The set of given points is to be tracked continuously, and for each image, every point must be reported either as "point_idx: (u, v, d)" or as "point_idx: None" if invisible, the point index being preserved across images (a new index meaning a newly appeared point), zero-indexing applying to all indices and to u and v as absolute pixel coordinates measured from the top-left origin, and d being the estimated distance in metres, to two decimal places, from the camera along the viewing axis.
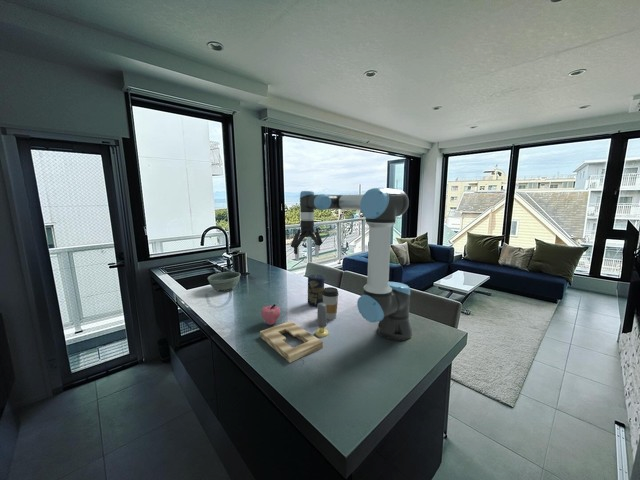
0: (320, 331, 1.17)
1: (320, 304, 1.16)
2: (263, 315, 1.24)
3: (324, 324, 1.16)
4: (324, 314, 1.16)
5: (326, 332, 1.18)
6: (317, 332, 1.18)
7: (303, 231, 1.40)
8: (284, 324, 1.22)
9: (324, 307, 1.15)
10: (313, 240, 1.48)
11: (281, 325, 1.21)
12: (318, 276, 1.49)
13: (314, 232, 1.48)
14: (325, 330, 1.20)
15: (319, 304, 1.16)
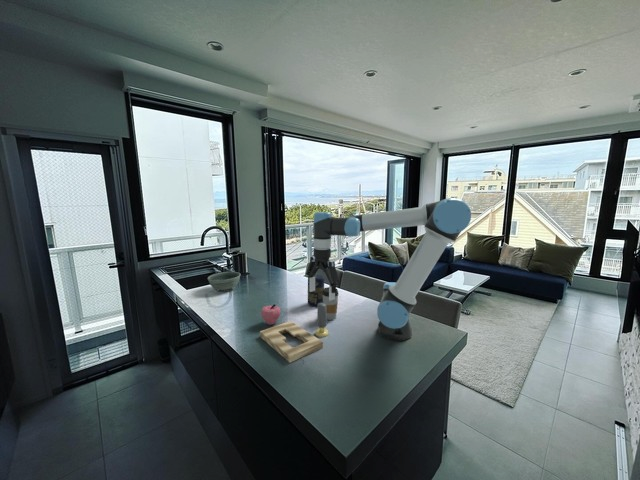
0: (320, 331, 1.17)
1: (320, 304, 1.16)
2: (263, 315, 1.24)
3: (324, 324, 1.16)
4: (324, 314, 1.16)
5: (326, 332, 1.18)
6: (317, 332, 1.18)
7: (315, 260, 1.15)
8: (284, 324, 1.22)
9: (324, 307, 1.15)
10: None
11: (281, 325, 1.21)
12: (318, 276, 1.49)
13: None
14: (325, 330, 1.20)
15: (319, 304, 1.16)
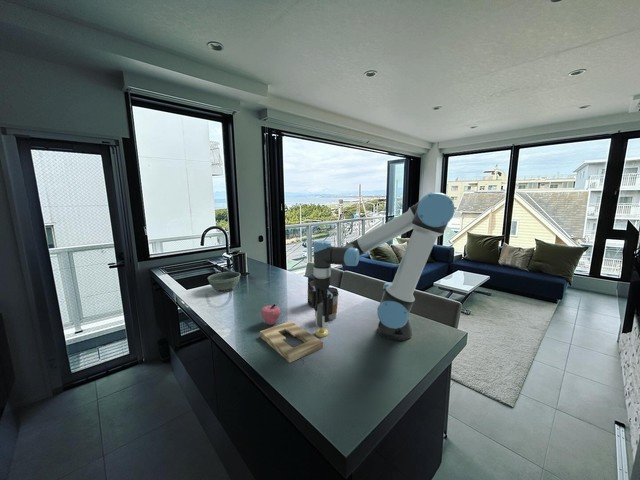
0: (320, 331, 1.17)
1: (320, 304, 1.16)
2: (263, 315, 1.24)
3: None
4: None
5: (326, 332, 1.18)
6: (317, 332, 1.18)
7: (315, 288, 1.17)
8: (284, 324, 1.22)
9: None
10: (326, 305, 1.16)
11: (281, 325, 1.21)
12: None
13: None
14: (325, 330, 1.20)
15: (319, 304, 1.16)
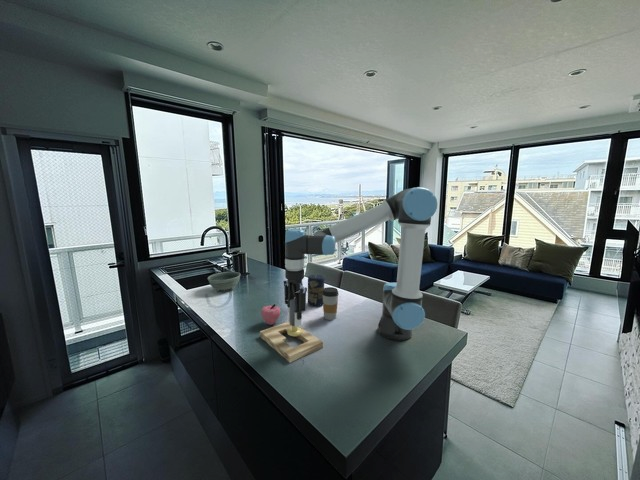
0: (293, 330, 1.06)
1: (293, 300, 1.05)
2: (263, 315, 1.24)
3: None
4: None
5: (299, 331, 1.07)
6: (289, 331, 1.07)
7: (288, 281, 1.06)
8: (284, 324, 1.22)
9: None
10: None
11: (281, 325, 1.21)
12: (318, 276, 1.49)
13: None
14: (299, 329, 1.08)
15: (292, 300, 1.05)
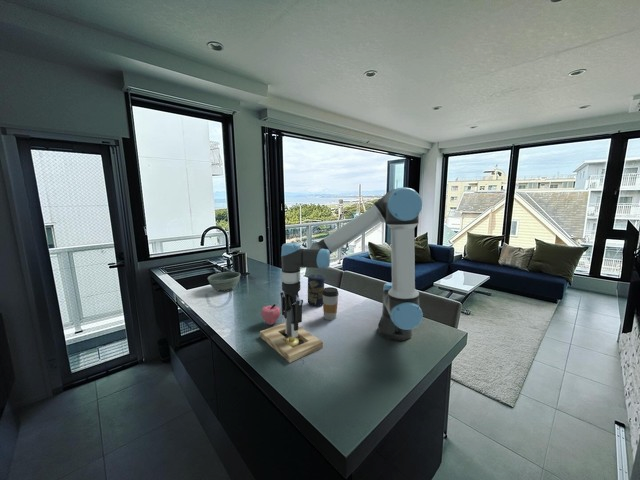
0: (290, 340, 1.09)
1: (289, 311, 1.08)
2: (263, 315, 1.24)
3: None
4: None
5: (296, 341, 1.10)
6: (286, 341, 1.09)
7: (284, 293, 1.09)
8: (284, 324, 1.22)
9: None
10: None
11: (281, 325, 1.21)
12: (318, 276, 1.49)
13: None
14: (296, 339, 1.11)
15: (288, 311, 1.08)
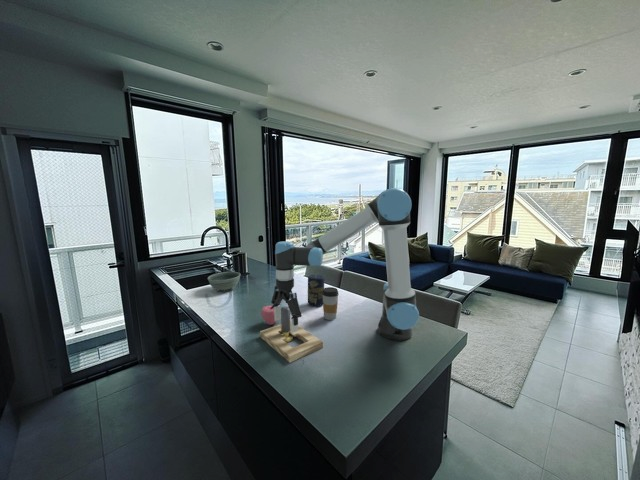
0: (284, 336, 1.13)
1: (283, 308, 1.12)
2: (263, 315, 1.24)
3: (288, 329, 1.12)
4: (287, 318, 1.11)
5: (290, 337, 1.13)
6: None
7: (279, 290, 1.13)
8: None
9: (287, 311, 1.11)
10: None
11: None
12: (318, 276, 1.49)
13: None
14: (290, 335, 1.15)
15: (282, 308, 1.12)
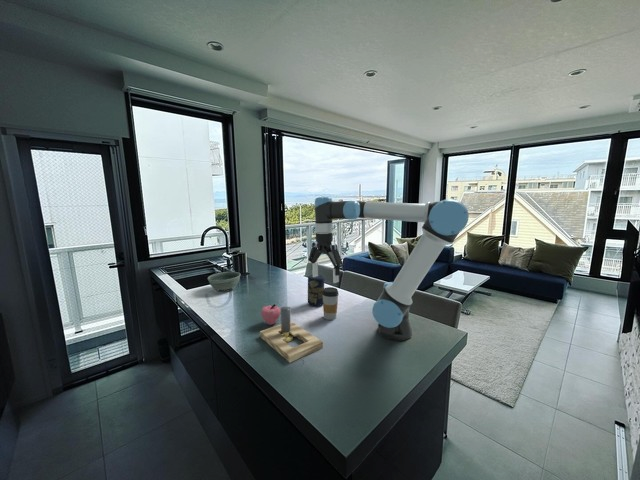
0: (284, 336, 1.13)
1: (283, 308, 1.12)
2: (263, 315, 1.24)
3: (288, 329, 1.12)
4: (287, 318, 1.11)
5: (290, 337, 1.13)
6: None
7: (317, 245, 1.18)
8: None
9: (287, 311, 1.11)
10: None
11: None
12: (318, 276, 1.49)
13: None
14: (290, 335, 1.15)
15: (282, 308, 1.12)
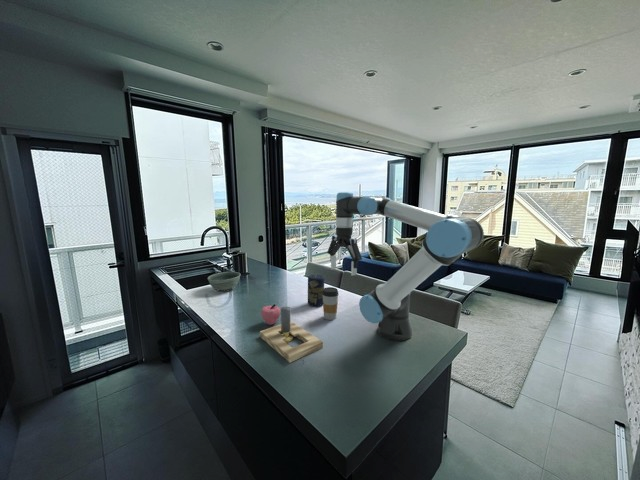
0: (284, 336, 1.13)
1: (283, 308, 1.12)
2: (263, 315, 1.24)
3: (288, 329, 1.12)
4: (287, 318, 1.11)
5: (290, 337, 1.13)
6: None
7: (337, 239, 1.22)
8: None
9: (287, 311, 1.11)
10: None
11: None
12: (318, 276, 1.49)
13: None
14: (290, 335, 1.15)
15: (282, 308, 1.12)
